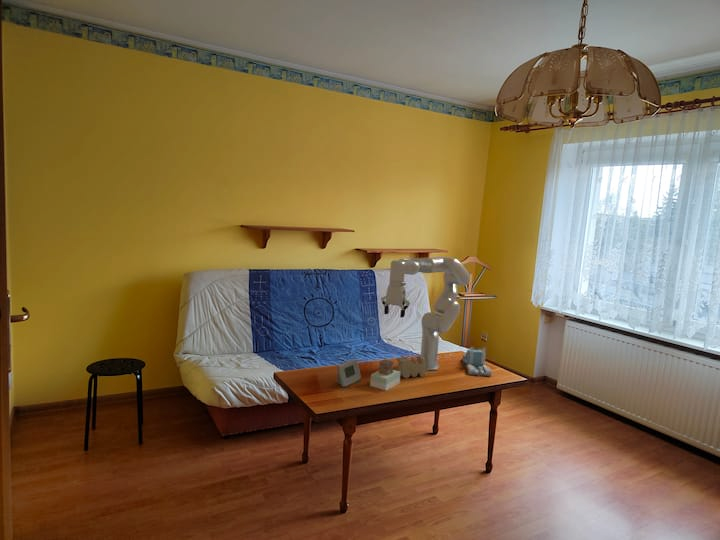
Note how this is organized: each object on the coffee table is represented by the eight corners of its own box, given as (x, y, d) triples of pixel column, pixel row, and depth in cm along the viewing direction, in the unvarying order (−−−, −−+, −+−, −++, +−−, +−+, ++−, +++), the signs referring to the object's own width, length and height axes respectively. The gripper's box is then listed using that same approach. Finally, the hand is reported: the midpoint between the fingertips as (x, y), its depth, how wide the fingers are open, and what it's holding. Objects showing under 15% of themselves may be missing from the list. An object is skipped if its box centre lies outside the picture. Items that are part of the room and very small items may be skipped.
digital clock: (342, 388, 226) (343, 367, 225) (330, 383, 232) (331, 362, 231) (365, 381, 238) (366, 361, 236) (353, 376, 244) (354, 357, 243)
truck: (481, 361, 285) (483, 337, 283) (491, 377, 256) (493, 351, 255) (461, 359, 286) (463, 336, 284) (469, 375, 257) (471, 349, 255)
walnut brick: (384, 370, 238) (385, 359, 237) (392, 372, 235) (393, 361, 235) (379, 372, 234) (379, 361, 233) (387, 375, 231) (388, 363, 230)
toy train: (427, 376, 251) (429, 358, 250) (400, 379, 245) (401, 360, 243) (422, 373, 256) (424, 355, 255) (395, 375, 250) (396, 357, 248)
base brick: (384, 378, 243) (385, 367, 243) (399, 382, 239) (400, 371, 238) (370, 385, 232) (371, 374, 231) (385, 390, 227) (386, 378, 226)
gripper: (414, 285, 243) (411, 317, 245) (386, 281, 253) (384, 311, 255) (407, 286, 237) (405, 319, 239) (378, 282, 247) (376, 313, 249)
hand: (394, 315), depth 247 cm, fingers open, 9 cm apart
